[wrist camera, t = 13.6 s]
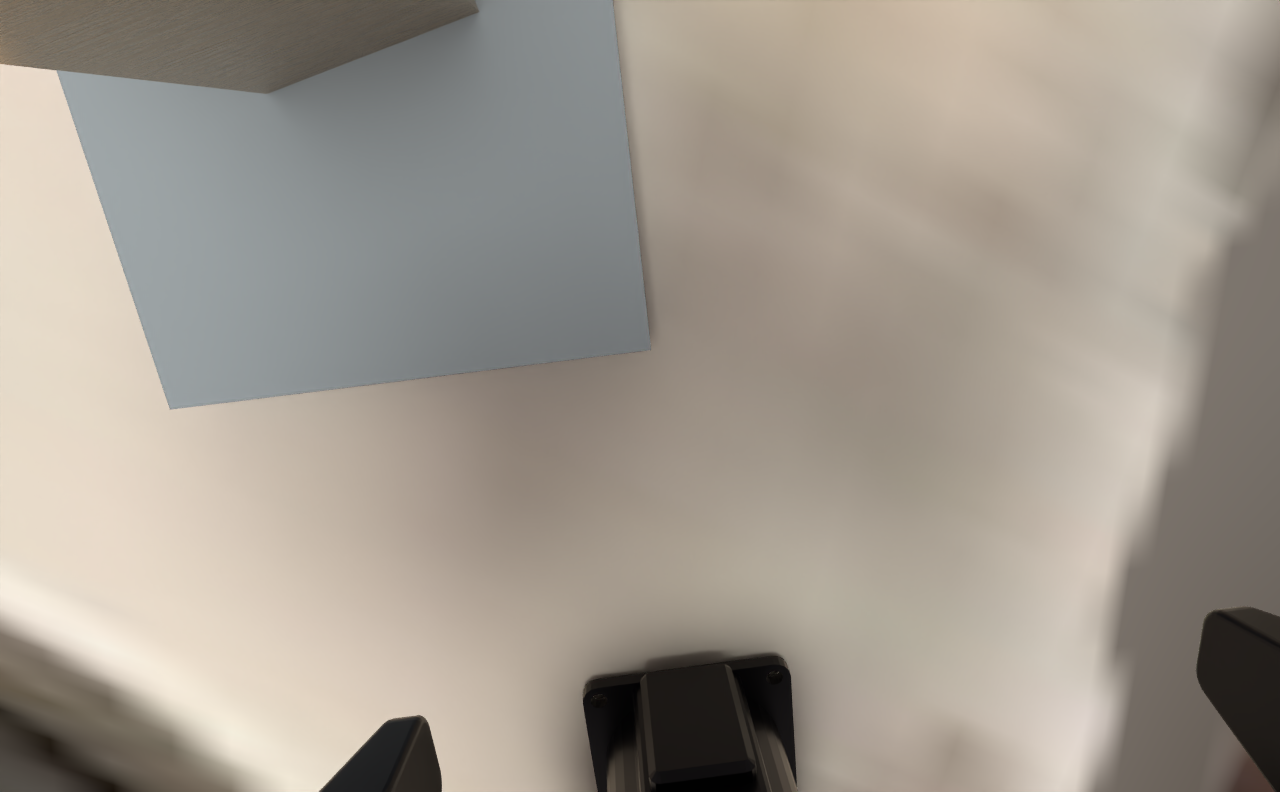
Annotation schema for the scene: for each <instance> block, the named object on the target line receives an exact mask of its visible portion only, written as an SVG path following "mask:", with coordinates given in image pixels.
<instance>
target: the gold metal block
mask: <svg viewBox="0 0 1280 792" xmlns="http://www.w3.org/2000/svg"><path fill="white" fill-rule="evenodd" d="M478 12H479V10H478V7H477V4H476V2H475V0H0V64H6V65H15V66H24V67H33V68H41V69H50V70H59V71H68V72H77V73H86V74H95V75H103V76H112V77H121V78H130V79H139V80H148V81H157V82H165V83H174V84H183V85H192V86H201V87H210V88H218V89H227V90H236V91H245V92H254V93H263V94H268V93H271V92H274V91H276V90H279V89H281V88H284V87H286V86H289V85H292V84H294V83H297V82H299V81H302V80H305V79H307V78H310V77H312V76H315V75H318V74H320V73H323V72H325V71H328V70H331V69H333V68H336V67H338V66H341V65H343V64H346V63H349V62H351V61H354V60H356V59H359V58H362V57H364V56H367V55H369V54H372V53H375V52H377V51H380V50H382V49H385V48H387V47H390V46H393V45H395V44H398V43H400V42H403V41H406V40H408V39H411V38H413V37H416V36H419V35H421V34H424V33H426V32H429V31H432V30H434V29H437V28H439V27H442V26H444V25H447V24H450V23H452V22H455V21H457V20H460V19H463V18H465V17H468V16H470V15H473V14H476V13H478Z"/></svg>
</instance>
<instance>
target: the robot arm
mask: <svg viewBox="0 0 1280 792" xmlns="http://www.w3.org/2000/svg"><path fill="white" fill-rule="evenodd" d="M773 671H779V672H778V673H777V674H776V675H774V676H768V674H769V673H770V672H773ZM1196 673H1197V678H1198V681H1199V684H1200V686H1201V688H1202V690H1203V691H1204V693H1205V695H1206V696H1207V697H1208V699H1209V700H1210V702H1211V703H1212V704H1213V706H1214V707H1215V709H1216V710H1217V711H1218V713H1219V714H1220V716H1221V717H1222V718H1223V720H1224V721H1225V723H1226V724H1227V725H1228V727H1229V728H1230V730H1231V731H1232V732H1233V734H1234V735H1235V737H1236V738H1237V739H1238V741H1239V742H1240V744H1241V745H1242V746H1243V748H1244V749H1245V751H1246V752H1247V753H1248V755H1249V756H1250V758H1251V759H1252V760H1253V762H1254V763H1255V764H1256V766H1257V767H1258V769H1259V770H1260V771H1261V773H1262V774H1263V776H1264V777H1265V778H1266V780H1267V781H1268V783H1269V784H1270V785H1271V787H1272V788H1273V790H1274V791H1275V792H1280V617H1279V616H1276V615H1273V614H1271V613H1268V612H1264V611H1262V610H1259V609H1256V608H1253V607H1248V606H1237V607H1231V608H1223V609H1215V610H1213V611H1211V612H1209V613H1208V614H1207V615H1206V617H1205V618H1204V621H1203V626H1202V632H1201V639H1200V645H1199V651H1198V658H1197V664H1196ZM598 694H600V695H604V696H605V697H604V698H601V699H596V698H594V697H593V696H595V695H598ZM583 706H584V712H585V718H586V724H587V730H588V736H589V742H590V748H591V754H592V760H593V766H594V772H595V778H596V784H597V790H598V792H798V790H797V780H796V762H795V744H794V726H793V708H792V690H791V675H790V672H789V669H788V666H787V663H786V662H785V661H784V660H783V659H782V658H780V657H778V656H769V657H761V658H754V659H746V660H738V661H731V662H723V663H716V664H708V665H701V666H693V667H686V668H678V669H671V670H663V671H656V672H648V673H640V674H633V675H625V676H618V677H610V678H603V679H596V680H593V681H590V682H589V683H588V684H586V686H585V688H584V690H583ZM319 792H442V779H441V771H440V767H439V763H438V759H437V755H436V751H435V747H434V743H433V739H432V735H431V731H430V727H429V724H428V722H427V720H426V719H425V718H424V717H422V716H420V715H417V716H409V717H402V718H394V719H391V720H388V721H386V722H385V723H384V724H383V725H382V726H381V727H380V728H379V729H378V730H377V731H376V732H375V733H374V734H373V735H372V736H371V737H370V738H369V740H368V741H367V742H366V743H365V744H364V745H363V746H362V747H361V748H360V749H359V750H358V751H357V752H356V753H355V754H354V755H353V756H352V757H351V758H350V760H349V761H348V762H347V763H346V764H345V765H344V766H343V767H342V768H341V769H340V770H339V771H338V772H337V773H336V774H335V775H334V776H333V777H332V778H331V780H330V781H329V782H328V783H327V784H326V785H325V786H324V787H323V788H322V789H321V790H320V791H319Z"/></svg>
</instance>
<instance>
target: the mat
mask: <svg viewBox="0 0 1280 792" xmlns="http://www.w3.org/2000/svg"><path fill="white" fill-rule="evenodd" d="M475 2H476V4H477V7H478V10H479V12H478V13H476V14H473V15H470V16H468V17H465V18H463V19H460V20H457V21H455V22H452V23H450V24H447V25H444V26H442V27H439V28H437V29H434V30H432V31H429V32H426V33H424V34H421V35H419V36H416V37H413V38H411V39H408V40H406V41H403V42H400V43H398V44H395V45H393V46H390V47H387V48H385V49H382V50H380V51H377V52H375V53H372V54H369V55H367V56H364V57H362V58H359V59H356V60H354V61H351V62H349V63H346V64H343V65H341V66H338V67H336V68H333V69H331V70H328V71H325V72H323V73H320V74H318V75H315V76H312V77H310V78H307V79H305V80H302V81H299V82H297V83H294V84H292V85H289V86H286V87H284V88H281V89H279V90H276V91H274V92H271V93H268V94H263V93H254V92H245V91H236V90H227V89H218V88H210V87H201V86H192V85H183V84H174V83H165V82H157V81H148V80H139V79H130V78H121V77H112V76H103V75H95V74H86V73H77V72H68V71H59V70H57V73H58V76H59V79H60V82H61V85H62V88H63V91H64V94H65V97H66V100H67V103H68V106H69V109H70V112H71V115H72V118H73V121H74V124H75V127H76V130H77V133H78V136H79V139H80V142H81V145H82V148H83V151H84V154H85V157H86V160H87V163H88V166H89V169H90V172H91V175H92V178H93V181H94V184H95V187H96V190H97V193H98V196H99V199H100V202H101V205H102V208H103V211H104V214H105V217H106V220H107V223H108V226H109V229H110V232H111V235H112V238H113V241H114V244H115V247H116V250H117V252H118V255H119V258H120V261H121V264H122V267H123V270H124V273H125V276H126V279H127V282H128V285H129V288H130V291H131V294H132V297H133V300H134V303H135V306H136V309H137V312H138V315H139V318H140V321H141V324H142V327H143V330H144V333H145V336H146V339H147V342H148V345H149V348H150V351H151V354H152V357H153V360H154V363H155V366H156V369H157V372H158V375H159V378H160V381H161V384H162V387H163V390H164V393H165V396H166V399H167V402H168V405H169V408H170V409H178V408H186V407H194V406H203V405H211V404H219V403H227V402H235V401H243V400H251V399H259V398H267V397H275V396H283V395H291V394H300V393H308V392H316V391H324V390H332V389H340V388H348V387H356V386H364V385H372V384H380V383H388V382H397V381H405V380H413V379H421V378H429V377H437V376H445V375H453V374H461V373H469V372H477V371H485V370H494V369H502V368H510V367H518V366H526V365H534V364H542V363H550V362H558V361H566V360H574V359H582V358H591V357H599V356H607V355H615V354H623V353H631V352H639V351H647V350H651V344H650V335H649V326H648V317H647V308H646V299H645V290H644V281H643V271H642V262H641V253H640V244H639V235H638V226H637V217H636V208H635V199H634V190H633V181H632V171H631V162H630V153H629V144H628V135H627V126H626V117H625V108H624V99H623V90H622V81H621V71H620V62H619V53H618V44H617V35H616V26H615V17H614V8H613V0H475Z"/></svg>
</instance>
